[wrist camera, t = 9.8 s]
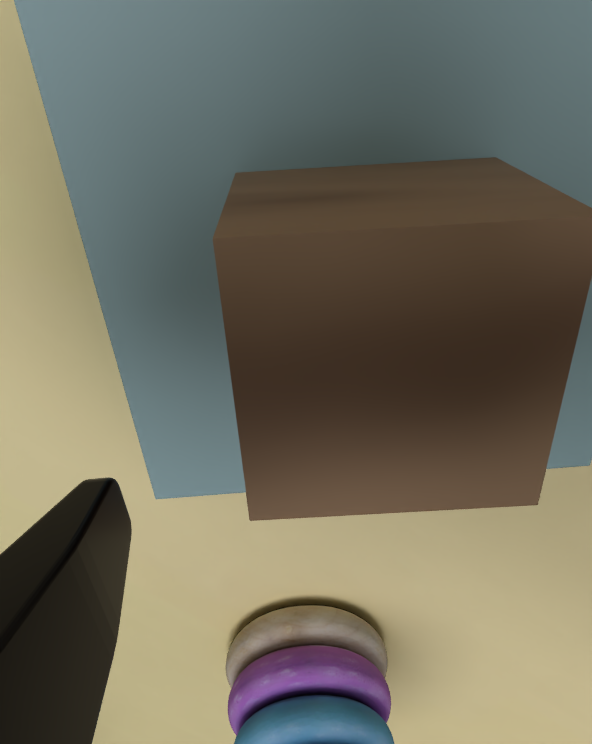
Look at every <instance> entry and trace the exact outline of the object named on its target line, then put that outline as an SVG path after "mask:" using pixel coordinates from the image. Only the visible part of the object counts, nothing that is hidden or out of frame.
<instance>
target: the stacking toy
mask: <svg viewBox="0 0 592 744" xmlns="http://www.w3.org/2000/svg"><path fill="white" fill-rule="evenodd" d="M386 671H387V652H386V648H385V646H384V643H383V641H382V639H381V637H380V636H379V634H378V633H377V632H376V631H375V629H374V628H373V627H372V626H371V625H370V624H368V623H367V622H366V621H364V620H363V619H361V618H360V617H358V616H356V615H354V614H352V613H350V612H347V611H345V610H341V609H338V608H334V607H327V606H316V605H306V606H295V607H287V608H283V609H279V610H275V611H272V612H269V613H267V614H265V615H262V616H260V617H258V618H257V619H255V620H253V621H252V622H250V623H249V624H248V625H247V626H245V627H244V628H243V629H242V630H241V631H240V632H239V634H238V635H237V636H236V637H235V639H234V640H233V642H232V644H231V646H230V648H229V651H228V654H227V659H226V675H227V679H228V682H229V685H230V687H231V692H230V695H229V700H228V716H229V721H230V724H231V727H232V729H233V731H234V733H235V734H236V735H237V736H236V739H235V742H234V744H394V741H393V737H392V734H391V732H390V729H389V727H388V726H387V724H386V723H387V720H388V718H389V714H390V708H391V697H390V691H389V688H388V685H387V683H386V680H385V676H386Z"/></svg>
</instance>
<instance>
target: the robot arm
mask: <svg viewBox="0 0 592 744" xmlns="http://www.w3.org/2000/svg"><path fill="white" fill-rule="evenodd" d="M131 530H132V529H131V520H130V517H129V514H128V511H127V508H126V505H125V502H124V499H123V496H122V493H121V490H120V487H119V485H118V483H117V481H116V480H115V479H113V478H98V479H88V480H85V481H83V482H81V483H80V484H79V485H78V486H77V487H76V488H74V489H73V490H72V491H71V492H70V493H69V494H68V495H67V496H65V497H64V498H63V499H62V500H61V501H60V502H59V503H58V504H56V505H55V506H54V507H53V508H52V509H51V510H50V511H49V512H47V513H46V514H45V515H44V516H43V517H42V518H41V519H40V520H38V521H37V522H36V523H35V524H34V525H33V526H32V527H31V528H29V529H28V530H27V531H26V532H25V533H24V534H23V535H22V536H20V537H19V538H18V539H17V540H16V541H15V542H14V543H13V544H12V545H10V546H9V547H8V548H7V549H6V550H5V551H4V552H3V553H1V554H0V744H92V740H93V736H94V732H95V728H96V724H97V720H98V716H99V712H100V708H101V704H102V700H103V696H104V692H105V688H106V684H107V680H108V676H109V672H110V668H111V664H112V660H113V656H114V651H115V647H116V642H117V636H118V630H119V624H120V616H121V609H122V601H123V594H124V587H125V579H126V572H127V564H128V557H129V550H130V542H131Z"/></svg>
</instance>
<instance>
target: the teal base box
mask: <svg viewBox="0 0 592 744" xmlns="http://www.w3.org/2000/svg"><path fill="white" fill-rule="evenodd" d="M14 2H15V5H16V9H17V12H18V16H19V20H20V23H21V27H22V30H23V34H24V37H25V41H26V44H27V48H28V51H29V55H30V58H31V62H32V65H33V69H34V72H35V76H36V79H37V83H38V86H39V90H40V93H41V97H42V101H43V104H44V108H45V111H46V115H47V118H48V122H49V125H50V129H51V132H52V136H53V139H54V143H55V146H56V150H57V153H58V157H59V160H60V164H61V167H62V171H63V174H64V178H65V182H66V185H67V189H68V192H69V196H70V199H71V203H72V206H73V210H74V213H75V217H76V220H77V224H78V227H79V231H80V234H81V238H82V241H83V245H84V248H85V252H86V255H87V259H88V263H89V266H90V270H91V273H92V277H93V280H94V284H95V287H96V291H97V294H98V298H99V301H100V305H101V308H102V312H103V315H104V319H105V322H106V326H107V329H108V333H109V336H110V340H111V344H112V347H113V351H114V354H115V358H116V361H117V365H118V368H119V372H120V375H121V379H122V382H123V386H124V389H125V393H126V396H127V400H128V403H129V407H130V410H131V414H132V418H133V421H134V425H135V428H136V432H137V435H138V439H139V442H140V446H141V449H142V453H143V456H144V460H145V463H146V467H147V470H148V474H149V477H150V481H151V484H152V488H153V491H154V495H155V499H166V498H179V497H192V496H204V495H217V494H230V493H243V492H246V489H245V481H244V473H243V466H242V458H241V451H240V443H239V435H238V428H237V420H236V413H235V405H234V398H233V390H232V382H231V375H230V367H229V360H228V352H227V344H226V337H225V329H224V322H223V314H222V307H221V299H220V291H219V284H218V276H217V269H216V261H215V253H214V246H213V236H214V233H215V230H216V227H217V224H218V222H219V219H220V216H221V213H222V210H223V207H224V204H225V201H226V199H227V196H228V193H229V190H230V187H231V184H232V181H233V179H234V176H235V173H238V172H255V171H272V170H289V169H305V168H322V167H339V166H355V165H372V164H389V163H406V162H423V161H441V160H458V159H475V158H492V157H496V158H498V159H500V160H502V161H504V162H506V163H508V164H510V165H511V166H513V167H515V168H517V169H519V170H521V171H523V172H525V173H527V174H528V175H530V176H532V177H534V178H536V179H538V180H540V181H542V182H544V183H545V184H547V185H549V186H551V187H553V188H555V189H557V190H559V191H561V192H562V193H564V194H566V195H568V196H570V197H572V198H574V199H576V200H578V201H579V202H581V203H583V204H585V205H587V206H589V207H591V208H592V0H14ZM591 459H592V278H591V282H590V286H589V291H588V295H587V299H586V303H585V307H584V312H583V316H582V320H581V324H580V329H579V333H578V337H577V341H576V345H575V350H574V354H573V358H572V362H571V366H570V371H569V375H568V379H567V383H566V387H565V392H564V396H563V400H562V404H561V409H560V413H559V417H558V421H557V425H556V430H555V434H554V438H553V442H552V446H551V451H550V455H549V459H548V463H547V468H546V469H550V468H563V467H576V466H589V465H590V463H591Z"/></svg>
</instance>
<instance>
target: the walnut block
mask: <svg viewBox="0 0 592 744" xmlns="http://www.w3.org/2000/svg"><path fill="white" fill-rule="evenodd" d="M213 246H214V253H215V261H216V269H217V276H218V284H219V291H220V299H221V307H222V314H223V322H224V329H225V337H226V344H227V352H228V360H229V367H230V375H231V382H232V390H233V398H234V405H235V413H236V420H237V428H238V435H239V443H240V451H241V458H242V466H243V473H244V481H245V489H246V496H247V504H248V511H249V519H250V521H254V520H272V519H290V518H308V517H327V516H345V515H363V514H381V513H400V512H418V511H436V510H454V509H473V508H491V507H509V506H527V505H538V501H539V497H540V493H541V489H542V484H543V480H544V476H545V472H546V468H547V463H548V459H549V455H550V451H551V446H552V442H553V438H554V434H555V430H556V425H557V421H558V417H559V413H560V409H561V404H562V400H563V396H564V392H565V387H566V383H567V379H568V375H569V371H570V366H571V362H572V358H573V354H574V350H575V345H576V341H577V337H578V333H579V329H580V324H581V320H582V316H583V312H584V307H585V303H586V299H587V295H588V291H589V286H590V282H591V278H592V208H591V207H589V206H587V205H585V204H583V203H581V202H579V201H578V200H576V199H574V198H572V197H570V196H568V195H566V194H564V193H562V192H561V191H559V190H557V189H555V188H553V187H551V186H549V185H547V184H545V183H544V182H542V181H540V180H538V179H536V178H534V177H532V176H530V175H528V174H527V173H525V172H523V171H521V170H519V169H517V168H515V167H513V166H511V165H510V164H508V163H506V162H504V161H502V160H500V159H498V158H496V157H492V158H475V159H458V160H441V161H423V162H406V163H389V164H372V165H355V166H339V167H322V168H305V169H289V170H272V171H255V172H238V173H235V176H234V179H233V181H232V184H231V187H230V190H229V193H228V196H227V199H226V201H225V204H224V207H223V210H222V213H221V216H220V219H219V222H218V224H217V227H216V230H215V233H214V236H213Z"/></svg>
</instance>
